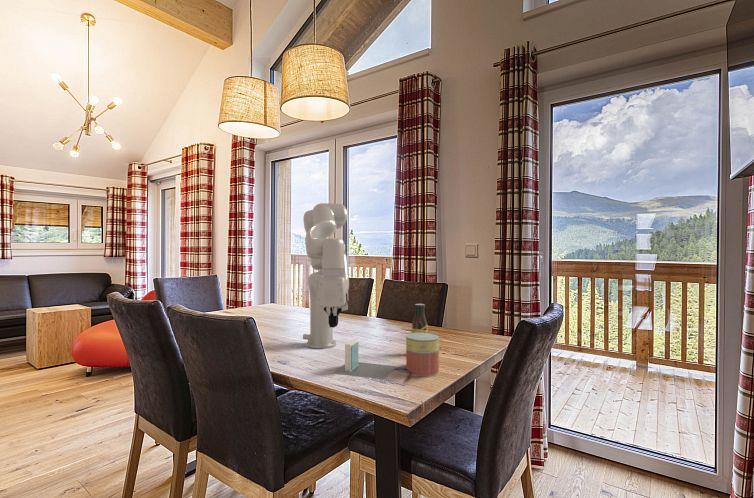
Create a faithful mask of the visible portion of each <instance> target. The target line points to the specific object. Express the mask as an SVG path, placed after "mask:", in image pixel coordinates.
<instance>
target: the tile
mask: <svg viewBox="0 0 754 498" xmlns="http://www.w3.org/2000/svg"><path fill="white" fill-rule="evenodd" d="M358 362H359V339H354V338H353V339H351V340H349V341H348V342H346V343H344V364H345V371H350V372H351V371H352V370H353V369H354V368H355V367H357V366H358Z"/></svg>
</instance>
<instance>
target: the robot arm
mask: <svg viewBox="0 0 754 498" xmlns="http://www.w3.org/2000/svg"><path fill="white" fill-rule="evenodd" d="M347 220H348V210H347V207H346V206H345V205H344V204H342V203H327V202H321V203H317V204H316V205H315V206H314V207H313V208H312V209H310V210H307V211H306V212H305V213H304V214H303V228H304V230H305V233H306V234H305V238H304V241H305V242H304V243H305V251H306V255H307V257H308V258H309V259H310V265H311V268H312V269H313V270H316V271H314V272H312V273H311V274H309V276H308V279H307V284H308V291H309V299H310V300H309V301H310V302H309V303H310V304H309V305H310V306H309V307H310V308H309V309H310V311H309V312H310V315H309V319H310V320H309V325H310V326H309V328H310V329H309V331H310V334H309V333H304V334H302V340H307V342H306V347H308V348H310V349H323V350H324V349H329V348H333V347H336V345H337V341H336V340H334V337H333V336H334V335H333V331H334V329H333V328H336V327H338V325H339V315H340V314H341V312H344V311H348V310H349V305H348V304H349V288H350V278H349V268H348V267H349V266H348V257H347V254H346V244H345V241H344V239H342V238H338V237H337V238H335V237H331V236H333V235H334V234H335V232H336V230H337V229H341V228H342V227H343V226H344V225H345V224H346V222H347ZM330 237H331V238H330Z"/></svg>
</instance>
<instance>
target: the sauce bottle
mask: <svg viewBox="0 0 754 498" xmlns="http://www.w3.org/2000/svg"><path fill="white" fill-rule="evenodd" d="M425 309H426V304H424V303H415V304H414V312H415V313H414V317H413V318H412V322H411V324H412V326H411V333H420V332H421V333H429V331H428V330H429V328H428V322H427V318H426V315H425Z"/></svg>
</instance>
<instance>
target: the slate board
mask: <svg viewBox="0 0 754 498" xmlns="http://www.w3.org/2000/svg"><path fill="white" fill-rule="evenodd" d="M396 367H397V365H389V364H380V363H372V362H371V363H369V362H363V361H362V362H360V361H358V366H357V367H355V368H354V369H353V370H352V371H351V372H350V371H345V363H344V364H342V365H341V366H340V367H339V368H338V369H336V370H335V371H333V372H332V374H333V375H342V376H352V377H359V378H367V379H376V380H384V381H385V380H386V379H387V378H388V376H389V375H390V374H392V372H393V371H394V370H395V369H396Z"/></svg>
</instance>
